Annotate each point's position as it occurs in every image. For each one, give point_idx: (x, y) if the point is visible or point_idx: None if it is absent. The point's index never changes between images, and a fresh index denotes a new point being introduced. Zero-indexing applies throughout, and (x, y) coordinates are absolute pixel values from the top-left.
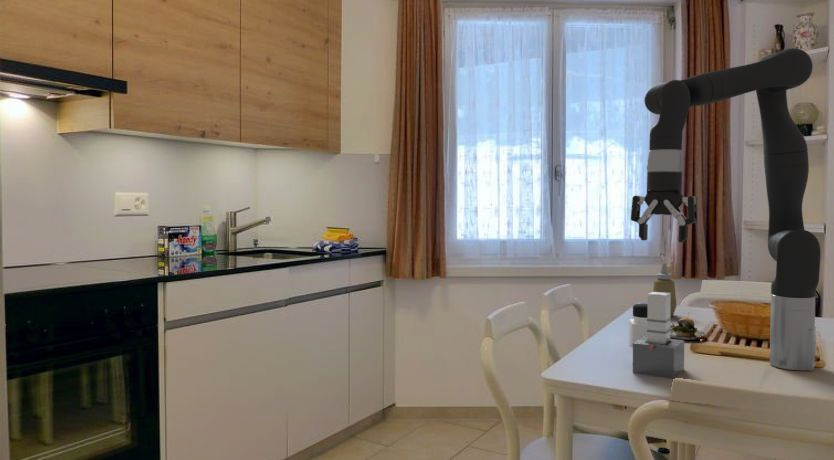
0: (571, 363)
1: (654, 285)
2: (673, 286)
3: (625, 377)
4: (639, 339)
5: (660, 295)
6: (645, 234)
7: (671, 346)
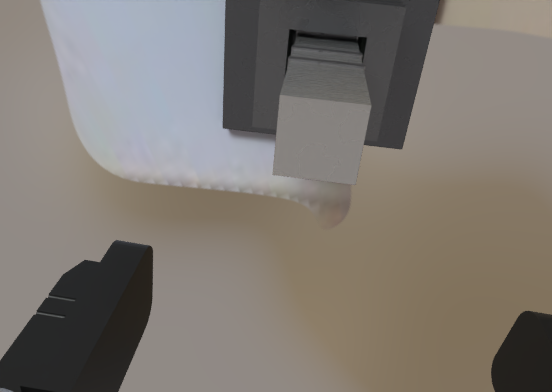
0: (73, 19)
1: None
2: None
3: None
4: (257, 64)
5: (331, 181)
6: (129, 328)
7: (368, 121)
